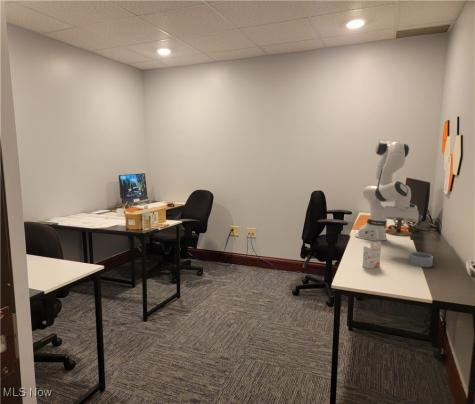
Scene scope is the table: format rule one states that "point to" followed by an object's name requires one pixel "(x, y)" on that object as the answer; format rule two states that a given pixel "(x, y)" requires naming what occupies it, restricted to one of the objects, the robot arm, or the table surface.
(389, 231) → the lid
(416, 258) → the bowl
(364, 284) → the table surface
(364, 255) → the ink cartridge box
